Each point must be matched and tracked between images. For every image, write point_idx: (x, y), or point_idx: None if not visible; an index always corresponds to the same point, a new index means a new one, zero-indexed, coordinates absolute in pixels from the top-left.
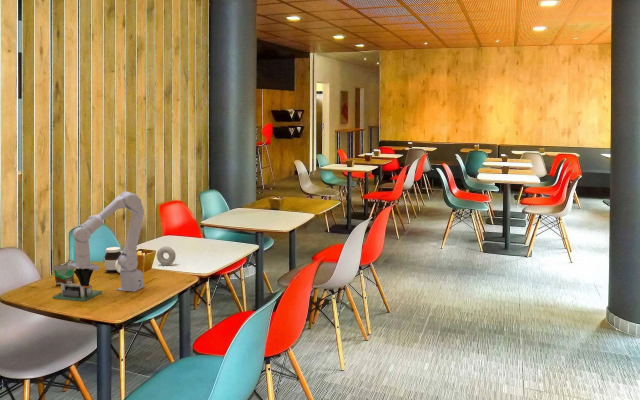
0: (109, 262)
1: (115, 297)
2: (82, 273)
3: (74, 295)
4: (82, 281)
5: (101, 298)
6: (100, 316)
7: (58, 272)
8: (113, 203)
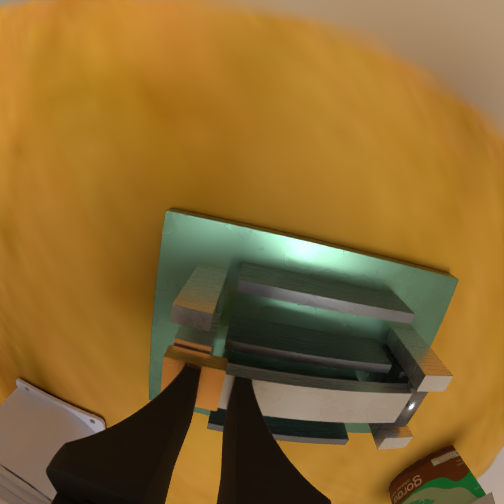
0: None
1: (34, 302)
2: (141, 469)
3: (288, 275)
4: (230, 417)
5: (91, 285)
6: (13, 3)
7: (464, 495)
8: None
